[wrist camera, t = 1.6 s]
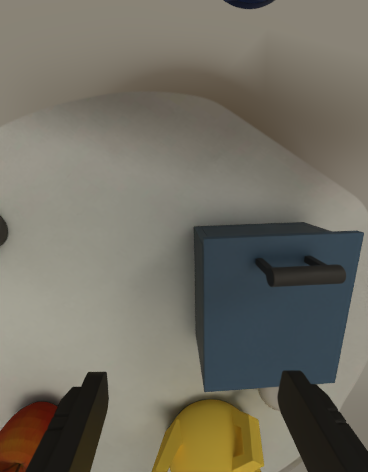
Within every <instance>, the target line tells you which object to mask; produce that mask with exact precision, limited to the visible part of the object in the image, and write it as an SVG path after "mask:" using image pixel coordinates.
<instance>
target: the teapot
mask: <svg viewBox="0 0 368 472" xmlns="http://www.w3.org/2000/svg"><path fill="white" fill-rule="evenodd" d="M263 466H264V460H263V452H262V445H261V437H260V429H259V421H258V419H256V418H254V417H252V416H250V415H249V414H246V413H243V412H241V411H240V410H238V409H237V408H235V407H234V406H232V405H231V404H229V403H227V402H224V401H221V400H215V399H208V400H201V401H197V402H195V403H192V404H190V405H189V406H187V407H186V408H185V409H183V410H182V411H181V412H180V414H179V415H178V416H177V417H176V418H175V420H174V421H173V423H172V424H171V426H170V427H169V428H168V429H167V430H166V432H165V435H164V438H163V440H162V443H161V446H160V449H159V452H158V455H157V458H156V460H155V463H154V466H153V469H152V472H167V471H168V469H169V467H170V470H171V472H261V470H260V468H261V467H263Z"/></svg>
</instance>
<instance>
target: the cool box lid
mask: <svg viewBox="0 0 368 472" xmlns="http://www.w3.org/2000/svg"><path fill="white" fill-rule="evenodd" d="M363 236H364V233H363V232H360V231H337V232H313V233H289V234H264V235H240V236H216V237H203V385H204V392H214V391H228V390H242V389H255V388H269V387H279V385H280V380H281V375H282V372H283V371H286V370H300V371H302V372H303V373H304V375H305V376H306V378H307V379H308V381H309V382H310V384H324V383H335V379H336V374H337V369H338V363H339V358H340V353H341V348H342V343H343V338H344V333H345V328H346V323H347V318H348V312H349V307H350V302H351V297H352V292H353V287H354V282H355V277H356V272H357V266H358V261H359V256H360V251H361V246H362V241H363Z"/></svg>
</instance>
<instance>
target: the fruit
mask: <svg viewBox="0 0 368 472" xmlns="http://www.w3.org/2000/svg"><path fill="white" fill-rule="evenodd" d="M56 409H57V406H56V405H54V404H52V403H48V402H35V403H32V404H30V405H28V406H26V407H24V408H23V409H21V410H20V411H18V412H17V413H16V414H15V415H14V416H13V417H12V418H11V419H10V420H9V421H8V422H7V423H6V425H5V426H4V427H3V428H2V430H1V431H0V472H25V471H26V469H27V467H28V465H29V463H30V461H31V459H32V457H33V455H34V453H35V451H36V449H37V447H38V445H39V443H40V441H41V439H42V437H43V435H44V433H45V431H46V430H47V428H48V425H49V423H50V421H51V419H52V417H54V413H55V411H56Z"/></svg>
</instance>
